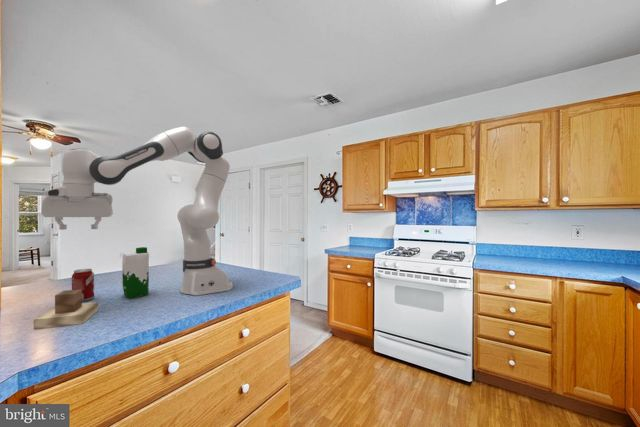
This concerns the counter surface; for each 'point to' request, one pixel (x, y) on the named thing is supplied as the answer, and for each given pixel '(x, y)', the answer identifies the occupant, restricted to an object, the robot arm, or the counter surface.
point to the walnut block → (68, 301)
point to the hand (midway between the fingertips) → (79, 229)
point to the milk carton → (135, 273)
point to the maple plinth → (65, 316)
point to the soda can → (84, 283)
